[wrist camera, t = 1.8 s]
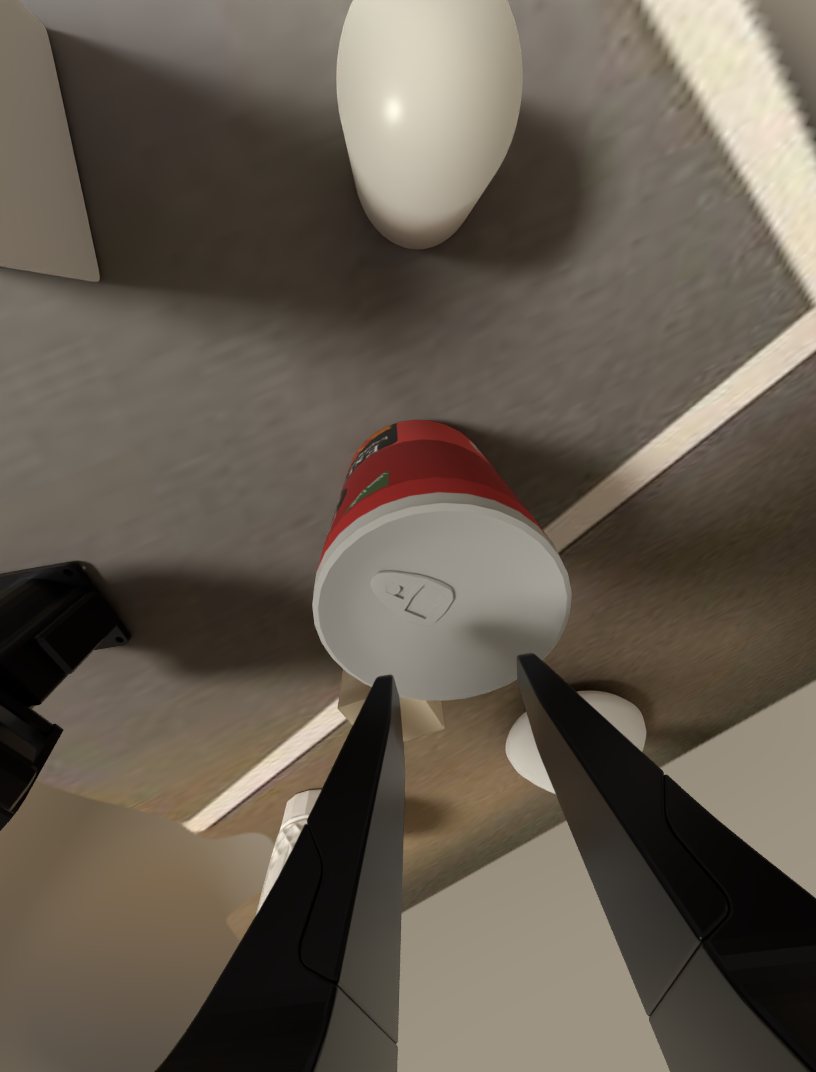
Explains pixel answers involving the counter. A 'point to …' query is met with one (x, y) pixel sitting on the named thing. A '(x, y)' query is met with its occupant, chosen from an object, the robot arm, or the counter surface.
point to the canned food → (435, 569)
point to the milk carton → (37, 158)
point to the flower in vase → (608, 705)
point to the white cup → (288, 835)
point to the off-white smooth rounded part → (427, 109)
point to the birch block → (414, 712)
